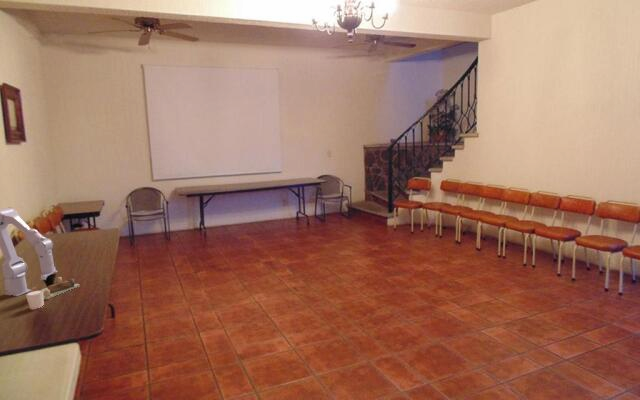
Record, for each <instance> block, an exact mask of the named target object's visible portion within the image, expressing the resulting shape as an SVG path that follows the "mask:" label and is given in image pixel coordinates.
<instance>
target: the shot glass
mask: <svg viewBox="0 0 640 400" xmlns="http://www.w3.org/2000/svg"><path fill="white" fill-rule="evenodd" d="M25 297H26V300H27V304H28V306H29V307H28V308H29V310H37V308H39V309H41V308H43V307H44V306H45V301H44V300H45V299H44V297H43V291H42V289H40V290H39V289H38V290H37V291H33V292H32V291H29V292H27V293H25ZM43 305H44V306H43ZM42 306H43V307H42ZM40 307H41V308H40Z"/></svg>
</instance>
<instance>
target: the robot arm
mask: <svg viewBox="0 0 640 400" xmlns="http://www.w3.org/2000/svg"><path fill="white" fill-rule="evenodd" d="M9 224H11V225H12V226H15V228H17V229H18V230H19V231H20V232H22V233H23V234H24V238H25V239H26V240H27V241H28V242H29V243H31V245H33V246H34V248H33V249H34V250H35V252H36V253H37V256H38V259H39V264H40V272H41V274H40V275H41V276H40V281H43V282H44V284H45V286H46V288H48V287H47V286H49V285H53V284H55V280H56V278H57V277H56V276H57V273H58V269H57V270H56V266H55V264H54V257H53V250H52V249H53V248H54V244H55V243H54V241H53V240H52V239H51V238H50V237H49V238H47V237H45V236H43V235H42V234H41V232H39V231H38V230H37V229H36V228H31V227H30V226H29V225H28V224H27V223H26V222H25V221H24V220H23V219H22V218H21V217H20V216H19V211H17V210H16V209H15V208H14V207H11V206H10V207H9V206H8V207H6V208H1V209H0V251H1V253H2V257H3V259H4V261H3V263H2V265H1V268H2V275H3V276H4V278H5V280H4V287H5V292H6V293H4V295H5V296H11V295H13V296H12V297H19V296H22V295H24V294H27V293H29V292H32V290H31V289H29V288H28V285H27V280H26V274H27V273H26V272H28V265H27V263H26V262H25V261H24V258H22V257H20V256H18V254H17V251H16V248H15V247H14V243H13V241H12V238H11V235H10V234H9V229H8V226H9Z"/></svg>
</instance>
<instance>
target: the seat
mask: <svg viewBox="0 0 640 400" xmlns="http://www.w3.org/2000/svg"><path fill="white" fill-rule="evenodd" d="M56 281H57V283H60V282H63V277H62V276H58V277H56ZM77 287H78V288H80V287H81V285H80V284H79V283H75V285H74V286H72V287H68V288H65V289H61V290H58V291H54V292H51V293H50V290H48V288H47V287H45V288H42V289H41V290H42V291H43V297H44V300H47V299H49V298H51V297H54V296H56V295H58V296H60V295H59V294H61V293H63V294H65V293H64V292H66V291H68V290H70V291H72V290H71V289H73V290H75V289H78V288H77ZM74 288H75V289H74ZM30 290H32V291H31V292H33V291H38V290H37V286H35V287H31V289H30ZM68 292H69V291H68ZM66 293H67V292H66ZM61 295H62V294H61ZM56 297H57V296H56ZM54 298H55V297H54ZM51 299H52V298H51ZM49 300H50V299H49Z"/></svg>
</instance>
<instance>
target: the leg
mask: <svg viewBox="0 0 640 400" xmlns="http://www.w3.org/2000/svg"><path fill="white" fill-rule="evenodd" d="M75 284H76V283H75V279H74V278H70V279H68V280H67V279H66V280H64V281H63V280H62V282H60V283H58V282H57V283H56V282H55V283H54V284H53V285H49V286H46V288H47V287H48V290H50V293H51V292H54V291H58V290H61V289H65V288H68V287H72V286H74V285H75Z"/></svg>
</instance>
